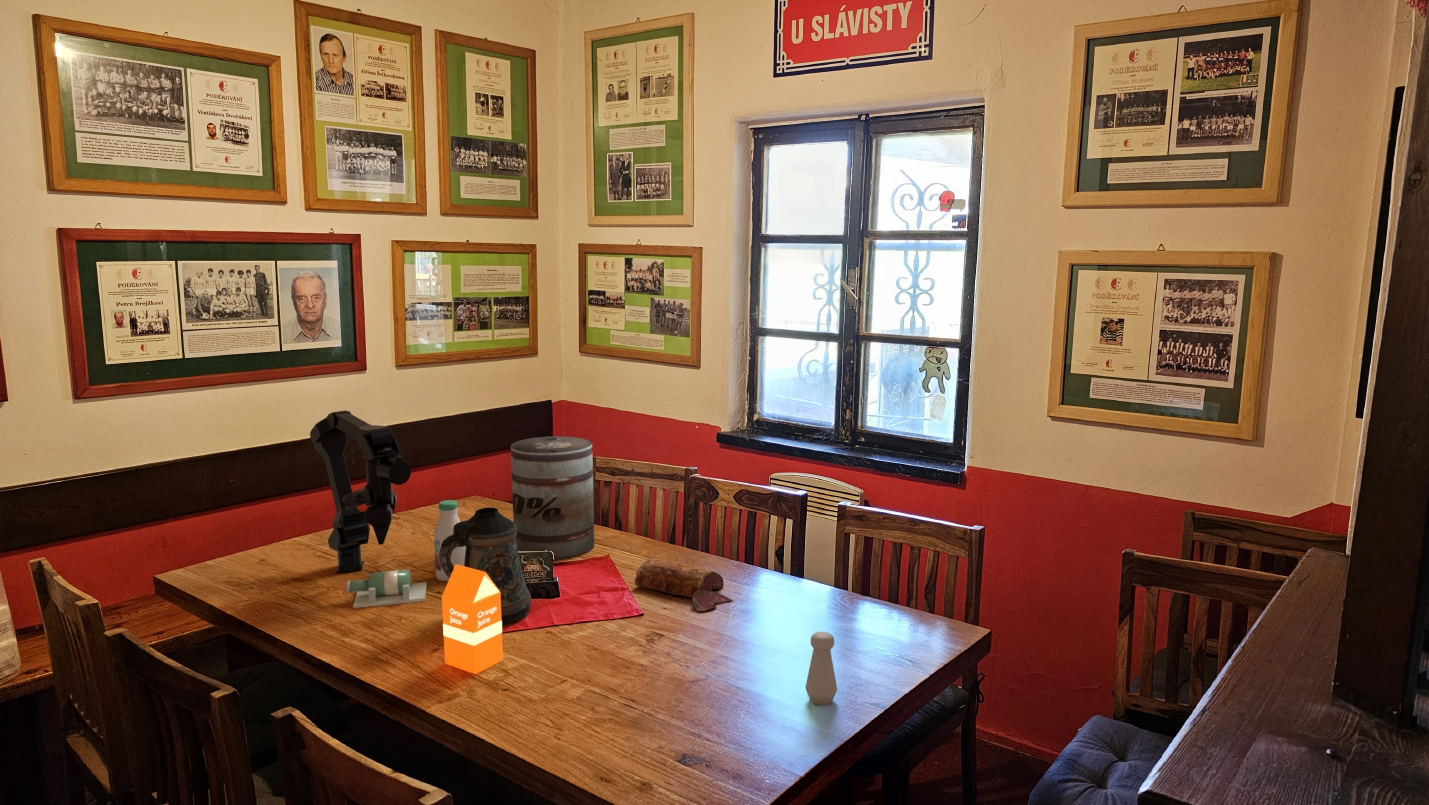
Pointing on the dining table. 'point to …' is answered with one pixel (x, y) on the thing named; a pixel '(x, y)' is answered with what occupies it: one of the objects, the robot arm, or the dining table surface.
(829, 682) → the salt shaker
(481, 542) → the beer stein
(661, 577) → the cured meat
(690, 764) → the dining table surface
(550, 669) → the dining table surface
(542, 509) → the barrel
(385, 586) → the bottle
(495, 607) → the orange juice
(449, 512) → the milk bottle
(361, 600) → the white four-legged tray
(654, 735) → the dining table surface
